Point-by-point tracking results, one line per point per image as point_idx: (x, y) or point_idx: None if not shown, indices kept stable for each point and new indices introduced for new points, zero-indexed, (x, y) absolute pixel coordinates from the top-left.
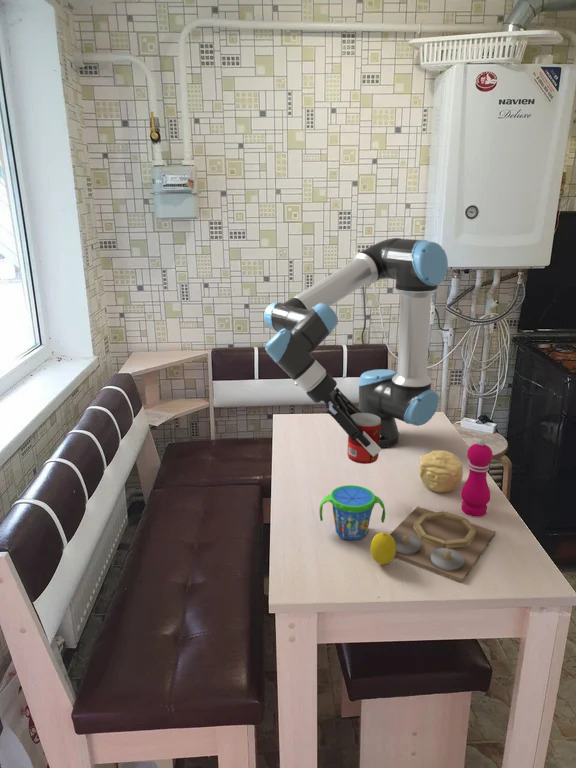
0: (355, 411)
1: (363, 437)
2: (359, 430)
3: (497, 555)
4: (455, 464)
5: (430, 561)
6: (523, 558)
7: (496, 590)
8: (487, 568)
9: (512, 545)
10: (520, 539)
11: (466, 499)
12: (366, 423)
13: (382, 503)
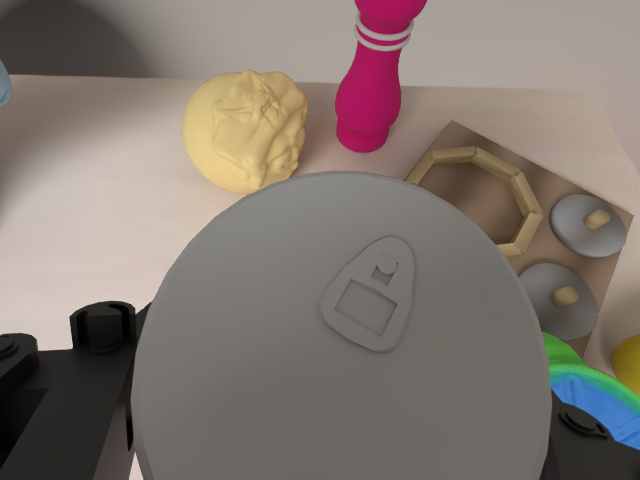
0: (97, 468)
1: (559, 400)
2: (619, 459)
3: (515, 142)
4: (287, 85)
5: (595, 259)
6: (514, 111)
7: (624, 174)
8: (562, 168)
9: (477, 113)
10: (456, 97)
11: (387, 124)
12: (491, 342)
13: (549, 337)
